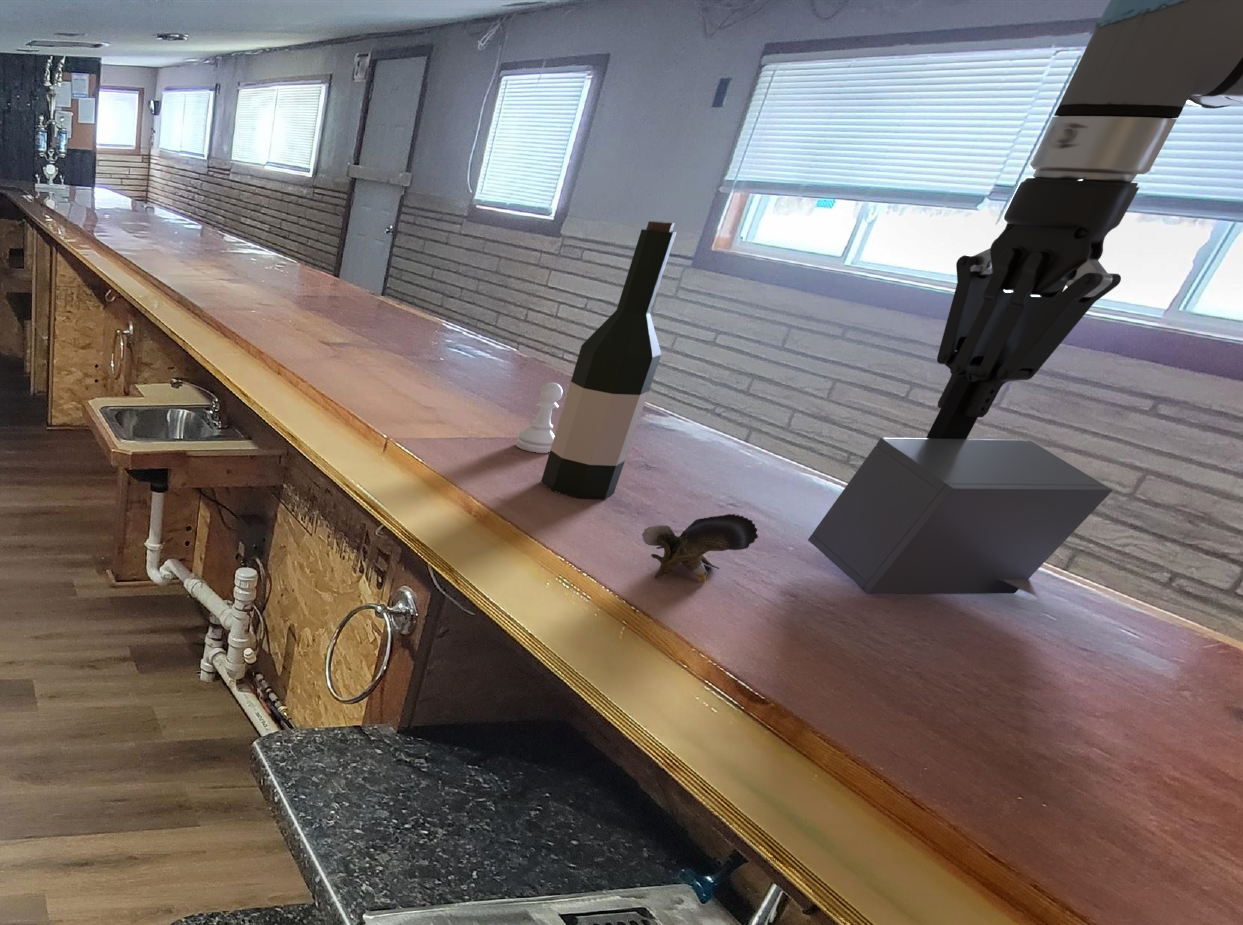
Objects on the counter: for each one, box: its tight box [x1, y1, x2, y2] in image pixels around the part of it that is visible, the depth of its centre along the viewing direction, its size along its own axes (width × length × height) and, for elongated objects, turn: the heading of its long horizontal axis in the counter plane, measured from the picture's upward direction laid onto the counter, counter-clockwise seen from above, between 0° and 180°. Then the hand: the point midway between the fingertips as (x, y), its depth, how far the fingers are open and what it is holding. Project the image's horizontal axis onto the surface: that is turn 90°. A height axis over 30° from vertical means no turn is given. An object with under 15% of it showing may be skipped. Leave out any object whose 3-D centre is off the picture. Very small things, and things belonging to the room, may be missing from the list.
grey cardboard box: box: [807, 437, 1114, 595], centre depth 88 cm, size 16×9×12 cm, turn 95°
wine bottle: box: [540, 220, 677, 500], centre depth 105 cm, size 8×8×30 cm
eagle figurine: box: [641, 513, 759, 584], centre depth 89 cm, size 8×7×9 cm
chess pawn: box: [515, 382, 563, 454], centre depth 124 cm, size 5×5×9 cm
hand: (942, 446), depth 89 cm, fingers closed
